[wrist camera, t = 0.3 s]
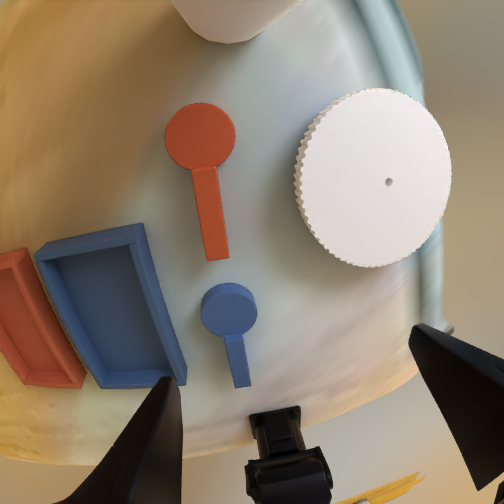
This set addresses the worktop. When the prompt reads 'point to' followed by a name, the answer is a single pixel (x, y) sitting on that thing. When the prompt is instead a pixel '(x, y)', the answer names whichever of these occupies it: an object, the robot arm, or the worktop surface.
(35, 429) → the worktop surface
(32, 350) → the terracotta tray
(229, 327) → the blue spoon
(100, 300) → the blue tray
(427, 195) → the plastic lid
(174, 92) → the worktop surface
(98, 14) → the worktop surface
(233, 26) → the foam cup
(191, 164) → the terracotta spoon
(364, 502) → the travel mug
